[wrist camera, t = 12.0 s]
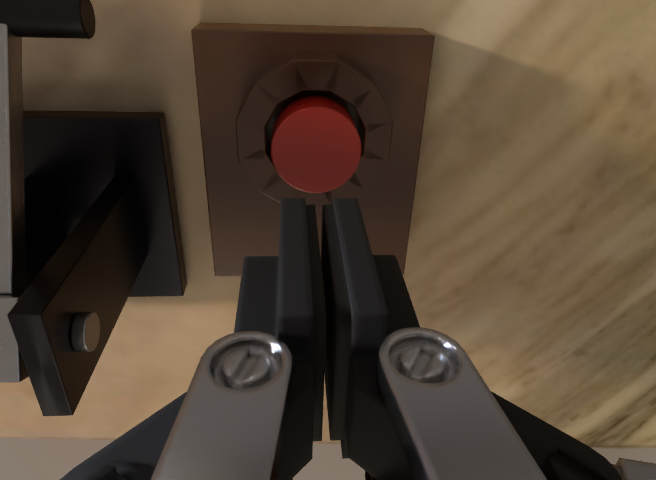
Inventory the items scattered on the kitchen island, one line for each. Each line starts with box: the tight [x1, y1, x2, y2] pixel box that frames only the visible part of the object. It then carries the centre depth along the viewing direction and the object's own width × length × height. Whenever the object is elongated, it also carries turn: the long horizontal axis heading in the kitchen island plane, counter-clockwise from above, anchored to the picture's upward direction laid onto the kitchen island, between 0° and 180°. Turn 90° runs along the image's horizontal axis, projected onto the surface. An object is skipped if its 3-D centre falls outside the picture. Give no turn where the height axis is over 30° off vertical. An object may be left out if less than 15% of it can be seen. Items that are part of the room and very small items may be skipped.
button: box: [271, 96, 361, 193], centre depth 21 cm, size 4×4×2 cm
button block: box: [191, 23, 434, 276], centre depth 24 cm, size 12×10×4 cm
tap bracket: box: [7, 111, 187, 416], centre depth 21 cm, size 10×8×12 cm
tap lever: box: [0, 0, 95, 383], centre depth 17 cm, size 13×6×2 cm, turn 179°
